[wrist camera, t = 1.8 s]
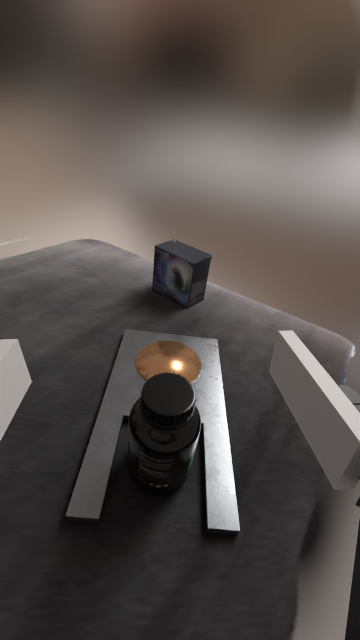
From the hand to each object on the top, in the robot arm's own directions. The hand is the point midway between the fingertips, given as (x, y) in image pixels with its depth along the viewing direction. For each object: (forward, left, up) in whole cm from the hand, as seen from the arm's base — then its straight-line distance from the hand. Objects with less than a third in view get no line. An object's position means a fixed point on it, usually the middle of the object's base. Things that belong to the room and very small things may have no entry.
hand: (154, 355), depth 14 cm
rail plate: (+11, +8, -21) cm, 25 cm away
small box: (+33, +28, -21) cm, 48 cm away
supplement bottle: (+5, +3, -21) cm, 22 cm away
